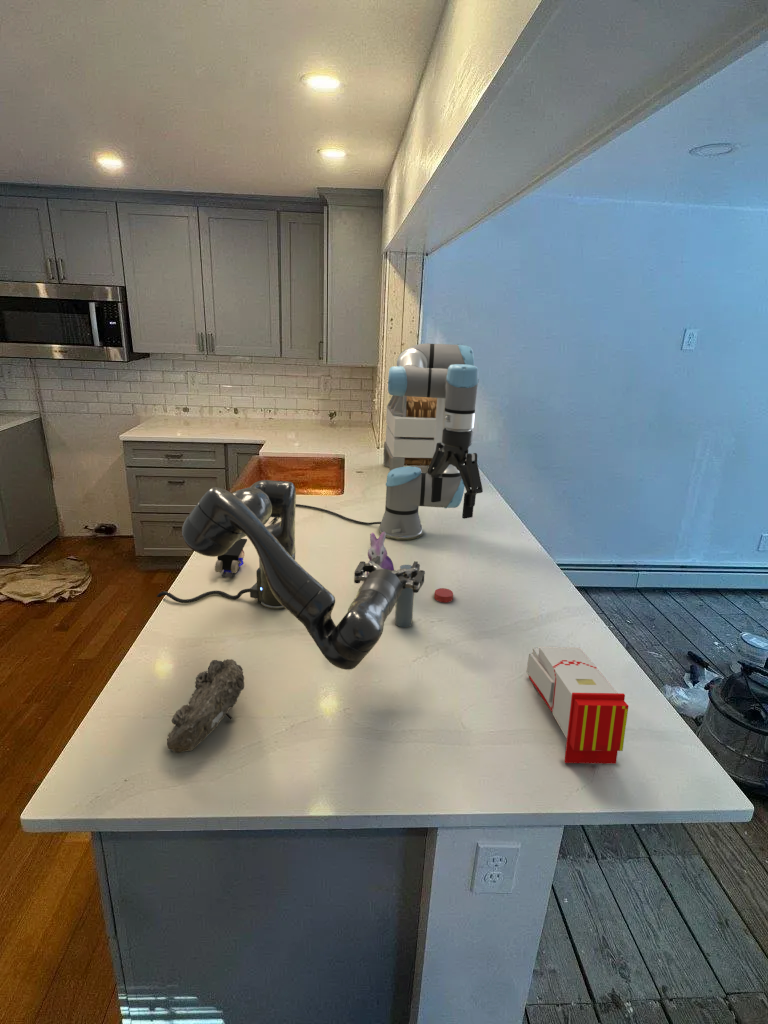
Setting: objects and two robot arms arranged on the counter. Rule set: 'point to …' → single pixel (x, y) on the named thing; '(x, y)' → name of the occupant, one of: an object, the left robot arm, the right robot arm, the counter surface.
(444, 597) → the lid
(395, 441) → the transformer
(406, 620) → the jar
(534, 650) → the toy
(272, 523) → the feather
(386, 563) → the figurine
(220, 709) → the fossil
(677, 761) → the counter surface
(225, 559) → the figurine character
